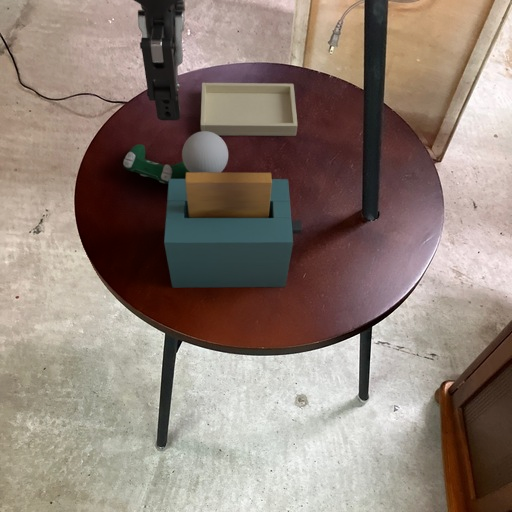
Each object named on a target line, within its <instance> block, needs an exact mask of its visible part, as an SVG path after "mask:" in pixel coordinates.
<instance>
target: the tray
mask: <svg viewBox="0 0 512 512" xmlns="http://www.w3.org/2000/svg"><path fill="white" fill-rule="evenodd" d="M295 95H296V94H295V86H294V83H269V82H267V83H266V82H265V83H264V82H263V83H261V82H260V83H259V82H258V83H257V82H201V97H200V98H201V103H200V132H201V131H208V132H212V133H215V134H216V135H218V136H235V137H236V136H243V137H245V136H246V137H247V136H248V137H249V136H250V137H253V136H254V137H255V136H257V137H296V136H297V132H298V117H297V107H296V96H295Z"/></svg>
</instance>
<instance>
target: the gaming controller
mask: <svg viewBox="0 0 512 512" xmlns="http://www.w3.org/2000/svg"><path fill="white" fill-rule="evenodd" d="M122 166H123V168H124V169H126V171H129V172H132V173H136V174H139V176H141V177H144V178H145V177H148V178H151V179H154V180H157V181H158V182H159V183H162V184H167V185H168V183H169V179H185V178H186V172H189V171H188V170H187V168H186V167H185V165H184V162H183V160H182V161H180V162H177V163H175V164H171V165H170V164H161V163H159V162H156V161H152V160H150V159H146V147H145V145H144V144H142V143H141V144H139V143H138V144H135V145H133V146H132V148H130V149H129V151H128V152H127V154H126V155H125V157H124V158H123V161H122Z"/></svg>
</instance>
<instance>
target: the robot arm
mask: <svg viewBox="0 0 512 512" xmlns="http://www.w3.org/2000/svg"><path fill="white" fill-rule="evenodd" d="M133 1H134V2H136V3H138V4H139V5H140V8H141V9H138V10H137V23H138V25H137V27H138V29H139V30H140V32H141V39H140V42H139V48H140V49H141V54H142V55H141V56H142V61H143V62H142V63H143V67H144V68H143V69H144V74H145V82H146V88H147V90H146V95H147V97H148V100H149V101H150V102H151V101H154V103H155V111H156V117H157V119H158V120H160V121H179V120H180V119H181V105H180V93H179V89H180V88H181V87H180V85H181V84H180V83H181V82H179V69H178V68H179V66H180V65H182V63H183V60H184V51H183V32H184V30H185V19H186V18H185V17H186V16H185V11H186V0H133Z"/></svg>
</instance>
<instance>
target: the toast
mask: <svg viewBox="0 0 512 512" xmlns="http://www.w3.org/2000/svg"><path fill="white" fill-rule="evenodd" d="M184 179H185V184H186V193H187V203H188V212H189V218H268V217H269V207H270V197H271V186H272V179H273V178H272V172H221V173H211V172H186V178H184Z"/></svg>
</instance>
